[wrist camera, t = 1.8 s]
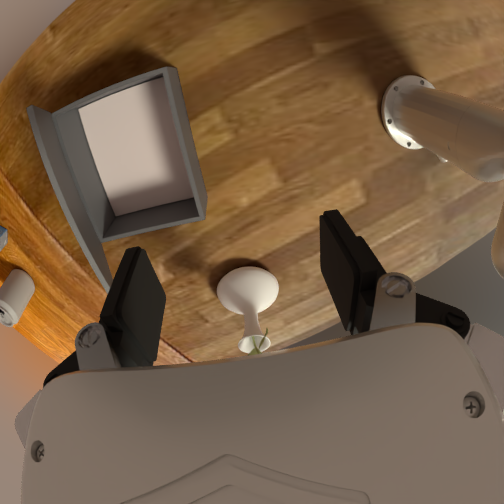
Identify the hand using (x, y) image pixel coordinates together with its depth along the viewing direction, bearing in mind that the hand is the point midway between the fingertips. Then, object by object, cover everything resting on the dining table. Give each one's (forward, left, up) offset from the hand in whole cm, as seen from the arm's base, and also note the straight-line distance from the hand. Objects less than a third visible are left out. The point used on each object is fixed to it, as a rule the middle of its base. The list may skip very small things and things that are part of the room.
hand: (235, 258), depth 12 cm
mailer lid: (+12, +12, -16) cm, 23 cm away
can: (+24, +49, -30) cm, 63 cm away
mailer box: (+9, +9, -30) cm, 33 cm away
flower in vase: (-19, +21, -30) cm, 41 cm away
